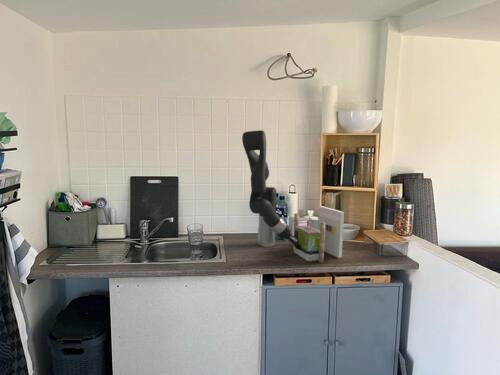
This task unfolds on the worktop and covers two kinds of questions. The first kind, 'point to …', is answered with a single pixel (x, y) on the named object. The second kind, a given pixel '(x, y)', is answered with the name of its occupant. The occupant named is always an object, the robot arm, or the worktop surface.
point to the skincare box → (313, 221)
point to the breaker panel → (332, 229)
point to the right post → (321, 242)
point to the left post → (296, 223)
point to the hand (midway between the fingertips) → (299, 247)
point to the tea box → (308, 242)
